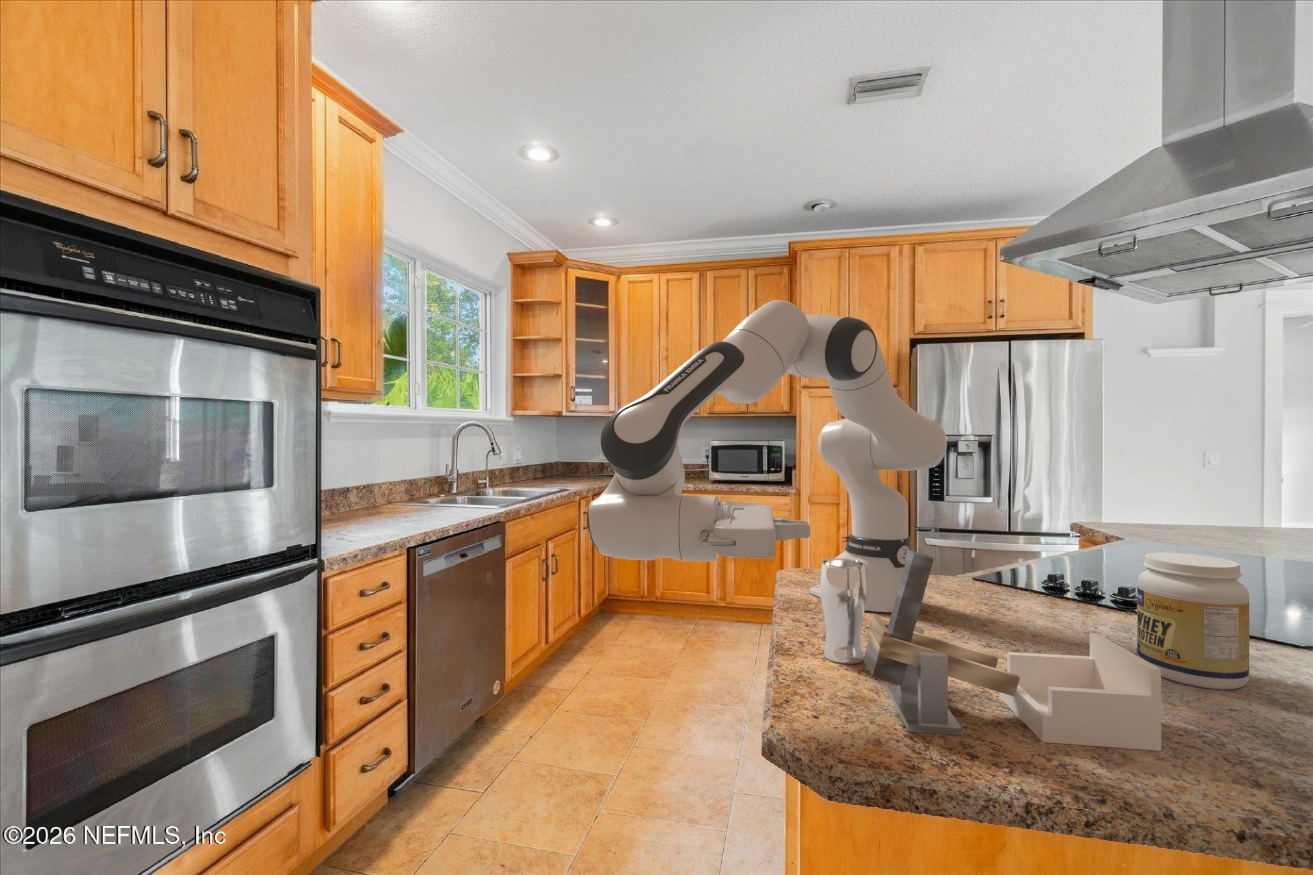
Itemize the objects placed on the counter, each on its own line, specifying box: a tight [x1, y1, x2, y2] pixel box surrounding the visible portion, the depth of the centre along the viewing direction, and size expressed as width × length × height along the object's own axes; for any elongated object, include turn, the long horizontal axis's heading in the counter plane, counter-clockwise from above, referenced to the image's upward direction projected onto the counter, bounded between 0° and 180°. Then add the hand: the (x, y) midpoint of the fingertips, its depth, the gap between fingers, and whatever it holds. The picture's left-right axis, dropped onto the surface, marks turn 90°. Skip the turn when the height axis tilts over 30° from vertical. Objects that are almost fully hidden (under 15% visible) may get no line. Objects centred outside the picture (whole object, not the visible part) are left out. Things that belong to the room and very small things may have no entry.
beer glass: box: [819, 557, 866, 665], centre depth 93 cm, size 7×7×15 cm
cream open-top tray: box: [998, 633, 1162, 752], centre depth 72 cm, size 12×12×9 cm
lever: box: [863, 550, 1020, 697], centre depth 74 cm, size 16×8×16 cm, turn 81°
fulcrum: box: [885, 626, 964, 736], centre depth 75 cm, size 6×12×9 cm, turn 171°
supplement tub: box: [1136, 551, 1251, 690], centre depth 86 cm, size 12×12×17 cm
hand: (809, 529), depth 77 cm, fingers closed
